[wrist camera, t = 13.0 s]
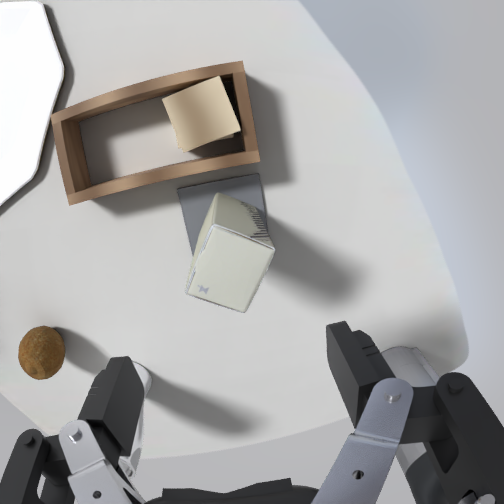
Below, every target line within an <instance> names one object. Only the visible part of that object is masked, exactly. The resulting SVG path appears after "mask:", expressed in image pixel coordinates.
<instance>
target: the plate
mask: <svg viewBox="0 0 504 504" xmlns="http://www.w3.org/2000/svg"><path fill="white" fill-rule="evenodd" d="M64 73H65V66H64V63H63V61H62V58H61V55H60V52H59V49H58V47H57V44H56V41H55V38H54V35H53V32H52V29H51V26H50V23H49V20H48V17H47V13H46V10H45V7H44V5H43V4H42V3H40V2H39V1H20V2H4V3H0V206H1V205H2V204H3V203H4V202H6V201H7V200H8V199H9V198H10V197H11V196H12V195H14V194H15V193H16V192H17V191H18V190H19V189H21V188H22V187H23V186H24V185H26V184H27V183H28V182H29V181H30V180H32V179H33V178H34V176H35V174H36V172H37V171H38V169H39V164H40V160H41V155H42V151H43V147H44V143H45V139H46V135H47V131H48V127H49V124H50V120H51V114H53V110H54V107H55V104H56V101H57V98H58V95H59V92H60V89H61V86H62V83H63V80H64Z"/></svg>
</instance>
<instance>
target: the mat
mask: <svg viewBox="0 0 504 504" xmlns="http://www.w3.org/2000/svg"><path fill="white" fill-rule="evenodd" d="M177 190H178V194H179V199H180V203H181V208H182V212H183V217H184V221H185V225H186V230H187V234H188V238H189V242H190V246H191V250H192V254H193V256H194V252H195V249H196V245H197V241H198V236H199V233H200V230H201V228H202V225H203V223H204V220H205V218H206V215H207V213H208V210H209V208H210V205H211V203H212V201H213V199H214V197H215V195H216V193H218V192H219V193H222V194H225V195H228V196H230V197H233V198H235V199H238V200H240V201H243V202H245V203H247V204H249V205H252V206H254V207H256V209H257V211H258V213H259V215H260V218H261V220H262V222H263V224H264V226H265V228H266V230H267V232H268V229H267V223H266V217H265V210H264V204H263V198H262V192H261V185H260V179H259V174H252V175H247V176H241V177H235V178H230V179H225V180H219V181H214V182H209V183H204V184H199V185H194V186H189V187H185V188H180V189H177Z"/></svg>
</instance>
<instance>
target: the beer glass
mask: <svg viewBox="0 0 504 504" xmlns="http://www.w3.org/2000/svg"><path fill="white" fill-rule="evenodd" d="M133 364H134V366H135V369H136V371H137V373H138V375H139V377H140V379H141V381H142V383H143V386H144V392H145V394H144V400H143V404H142V408H141V412H140V416H139V420H138V424H137V429H136V433H135V437H134V442H133V446H132V451H131V455H130V457H124V456H120V457H119V463H120V465H121V466H122V468H123V469H124V471H125V472H126V474H127V476H128V477H129V479H132V478H133V477H135V474H136V469H137V466H138V462H139V459H140V455H141V451H142V446H143V439H144V402H145V397H146V394H147V392H148V391H149V389H150V387H151V385H152V378H151V375H150V374H149V372H148V371H147V370H146V369H145V368H144V367H143V366H141V365H139V364H137V363H135V362H133Z"/></svg>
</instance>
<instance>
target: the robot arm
mask: <svg viewBox="0 0 504 504" xmlns="http://www.w3.org/2000/svg"><path fill="white" fill-rule="evenodd" d="M326 338H327V357H328V363H329V367H330V370H331V372H332V374H333V377H334V379H335V382H336V384H337V386H338V389H339V391H340V394H341V396H342V399H343V401H344V403H345V406H346V408H347V411H348V413H349V416H350V418H351V421H352V423H353V426H354V428H355V431H354V433H353V434H352V433H351V434H350V435H349V436H348V438H347V440H346V442H345V444H344V446H343V448H342V450H341V451H340V454H339V455H338V457H337V459H336V461H335V463H334V465H333V467H332V469H331V470H330V472H329V474H328V476H327V477H326V479H325V481H324V483H323V484H322V486H321V488H320V490H319V489H316V488H312V487H307V486H298V485H292V483H291V478H287V479H281V480H275V481H269V482H262V483H256V484H254V485H251V486H248V487H245V488H242V489H238V490H235V491H232V492H229V493H217V492H210V491H204V490H199V489H192V488H186V489H164V488H163V493H162V497H158V498H155V499H152V500H150V501H148V502H146V501H145V500H144V499H143V498H142V497H141V495H140V494H139V492H138V491H137V489H136V488H135V487H134V485H133V483H132V482H131V480H130V479H129V477H128V476H127V474H126V472H125V471H124V469H123V468H122V466H121V465H120V463H119V457H120V456H124V457H130V455H131V451H132V446H133V442H134V437H135V433H136V429H137V424H138V420H139V416H140V412H141V408H142V404H143V400H144V394H145V392H144V386H143V383H142V381H141V379H140V377H139V375H138V373H137V371H136V369H135V366H134V364H133V362H132V360H131V359H130V357H128V356H125V357H113V358H111V359H110V360H109V363H108V365H107V367H106V370H102V371H101V372H100V373H99V374H98V375H97V376H96V377H95V379H94V381H93V383H92V386H91V389H90V390H89V393H88V396H87V397H86V400H85V402H84V404H83V407H82V409H81V412H80V414H79V416H78V419H77V420H74V421H71V422H69V423H67V424H66V425H64V426H63V428H62V429H61V431H60V433H59V435H54V436H49V437H44V436H43V435H42V433H41V432H40V431H38V430H36V429H29V430H26V431H25V432H23V433H22V434H21V435H20V436H19V438H18V439H17V442H16V444H15V446H14V449H13V451H12V454H11V456H10V459H9V461H8V464H7V466H6V469H5V472H4V474H3V477H2V480H1V483H0V504H74V500H75V498H76V500H77V502H78V504H375V503H376V501H377V499H378V496H379V494H380V492H381V490H382V487H383V485H384V482H385V480H386V477H387V475H388V472H389V470H390V466H391V465H392V462H393V459H394V457H395V455H396V457H397V460H398V462H399V464H400V466H401V468H402V470H403V472H404V475H405V477H406V479H407V481H408V483H409V486H410V488H411V491H412V494H413V496H414V499H415V501H416V504H504V427H503V426H502V424H501V423H500V421H499V420H498V418H497V417H496V415H495V414H494V412H493V411H492V409H491V408H490V406H489V405H488V403H487V402H486V400H485V399H484V397H483V396H482V395H481V393H480V392H479V390H478V389H477V388H476V386H475V385H474V384H473V382H472V381H471V379H470V378H469V377H467V376H466V375H464V374H462V373H456V372H452V373H447V374H445V375H443V376H441V377H439V376H438V375H437V373H436V372H435V371H434V369H433V368H432V367H431V365H430V364H429V363H428V362H427V360H426V359H425V358H424V356H423V355H422V354H421V353H420V351H419V350H418V349H417V348H414V349H409V348H406V347H395V348H391V349H388V350H386V351H384V352H382V353H380V351H379V350H378V348H377V346H375V343H374V342H373V340H372V339H371V337H370V336H369V335H367V334H366V333H364V332H362V331H361V330H358V331H354V332H352V331H351V329H350V328H349V326H348V324H347V323H346V321H342V322H338V323H333V324H329V325H327V326H326ZM41 474H42V475H43V476H44V477H45V478H46V479H45V483H44V486H43V490H42V494H41V497H40V499H39V497H38V494H37V487H38V484H39V480H40V477H41Z"/></svg>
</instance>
